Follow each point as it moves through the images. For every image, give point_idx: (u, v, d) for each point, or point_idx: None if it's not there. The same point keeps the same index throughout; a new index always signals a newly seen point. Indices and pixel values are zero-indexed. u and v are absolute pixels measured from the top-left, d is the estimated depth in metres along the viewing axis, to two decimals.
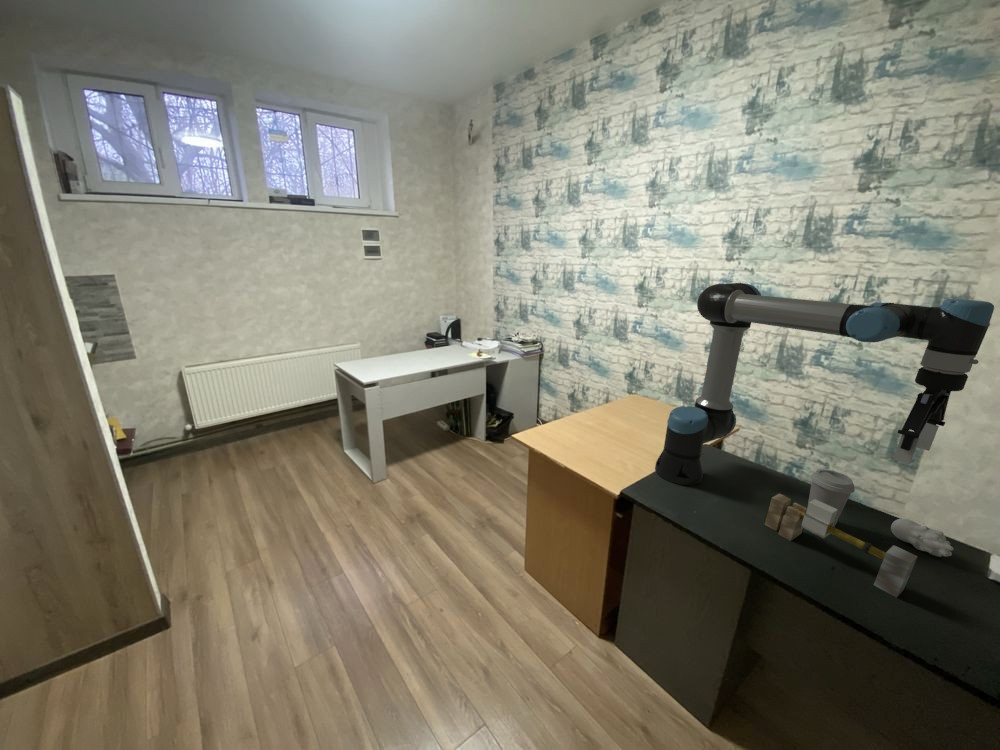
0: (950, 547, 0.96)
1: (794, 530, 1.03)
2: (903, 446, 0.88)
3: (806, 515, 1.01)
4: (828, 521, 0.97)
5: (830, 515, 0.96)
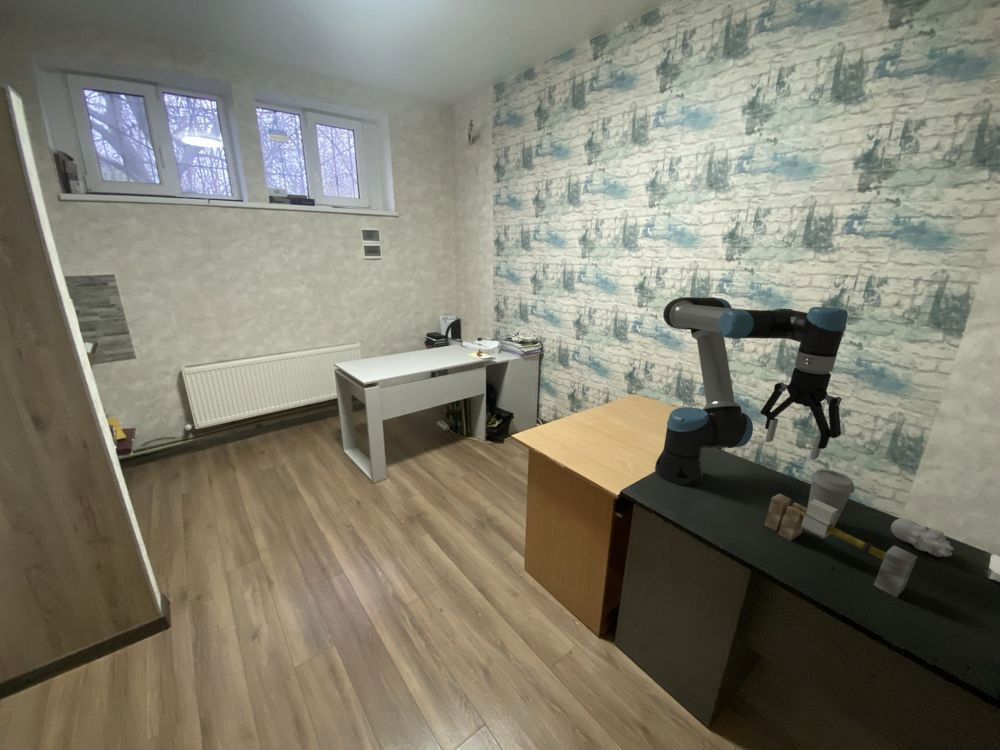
0: (950, 547, 0.96)
1: (794, 530, 1.03)
2: None
3: (806, 515, 1.01)
4: (828, 521, 0.97)
5: (830, 515, 0.96)
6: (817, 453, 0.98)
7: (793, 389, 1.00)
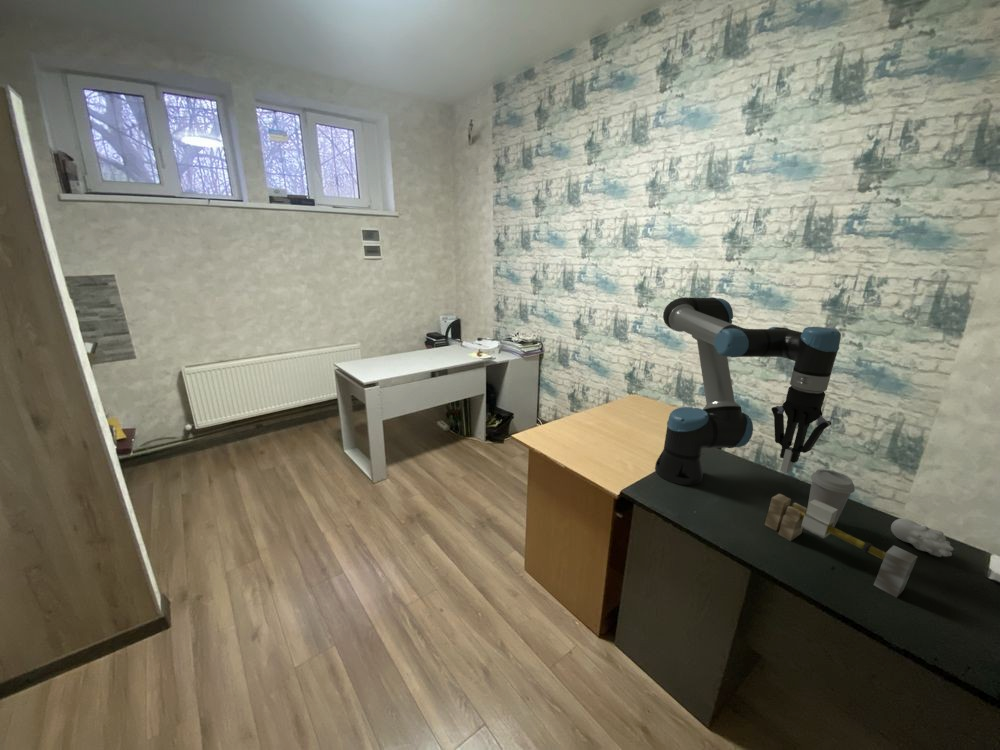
0: (950, 547, 0.96)
1: (794, 530, 1.03)
2: None
3: (806, 515, 1.01)
4: (828, 521, 0.97)
5: (830, 515, 0.96)
6: (789, 466, 1.04)
7: (788, 406, 1.02)
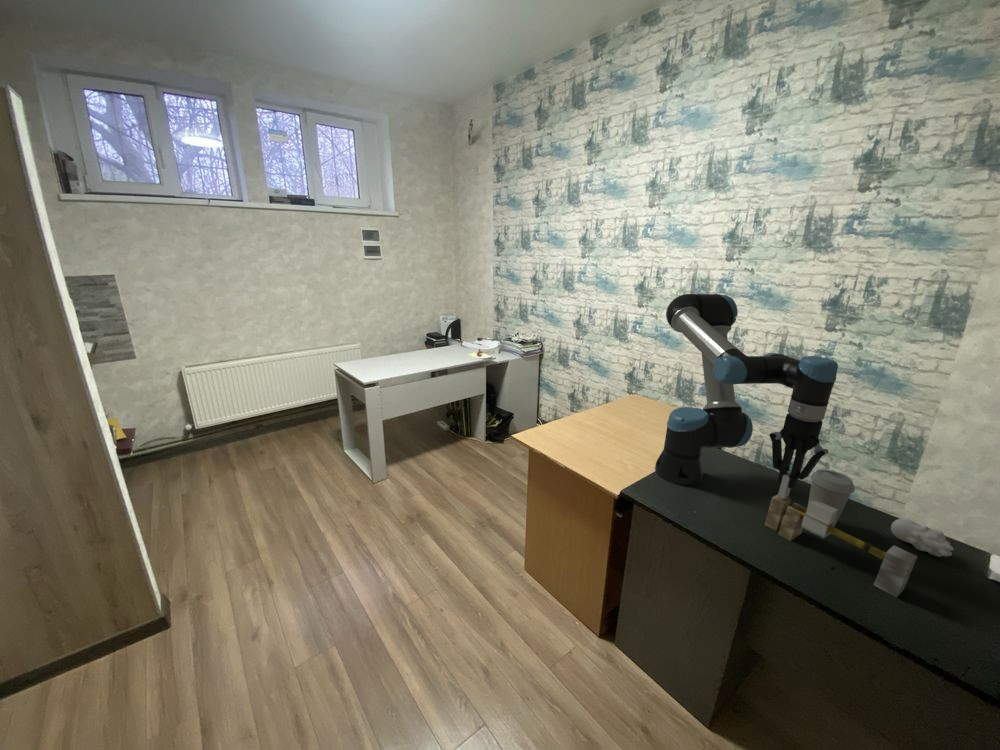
0: (950, 547, 0.96)
1: (794, 530, 1.03)
2: None
3: (806, 515, 1.01)
4: (828, 521, 0.97)
5: (830, 515, 0.96)
6: (787, 492, 1.06)
7: (786, 433, 1.03)
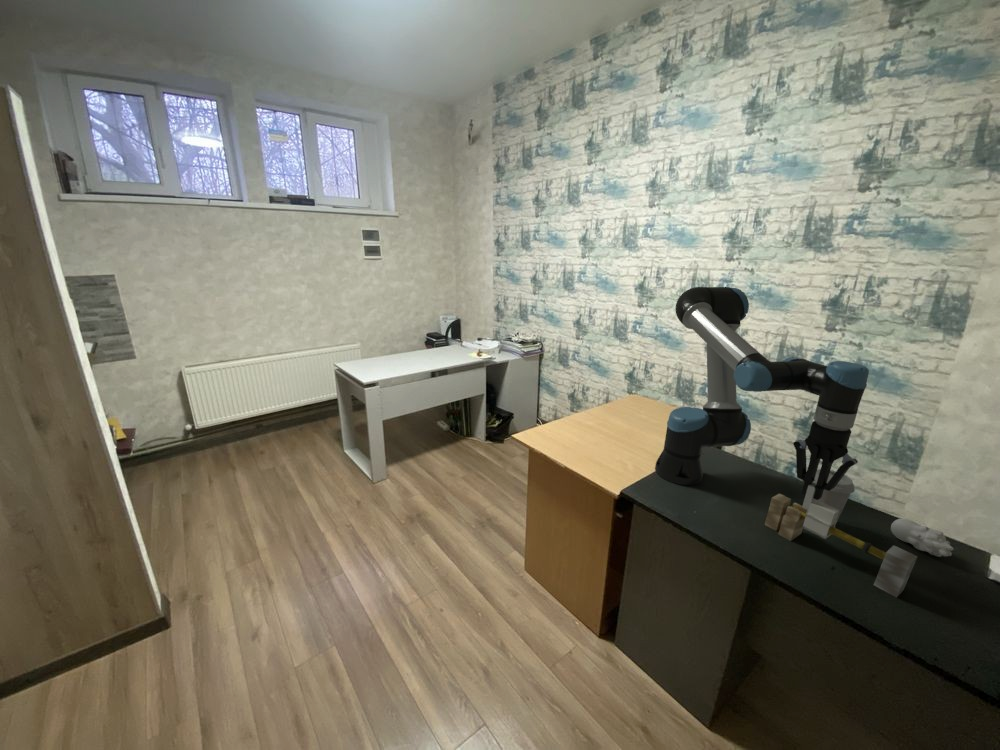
0: (950, 547, 0.96)
1: (794, 530, 1.03)
2: None
3: (808, 516, 1.00)
4: (830, 522, 0.97)
5: (832, 516, 0.96)
6: None
7: (812, 441, 0.98)
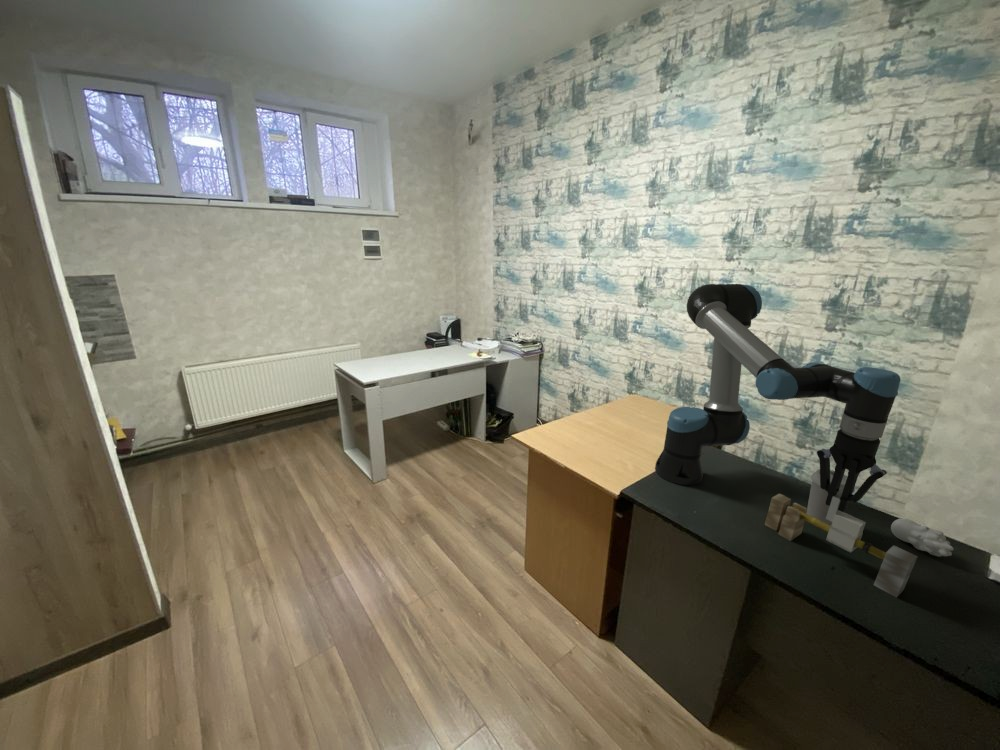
0: (950, 547, 0.96)
1: (794, 530, 1.03)
2: None
3: (832, 528, 0.96)
4: (856, 534, 0.92)
5: (858, 528, 0.92)
6: None
7: (837, 451, 0.94)
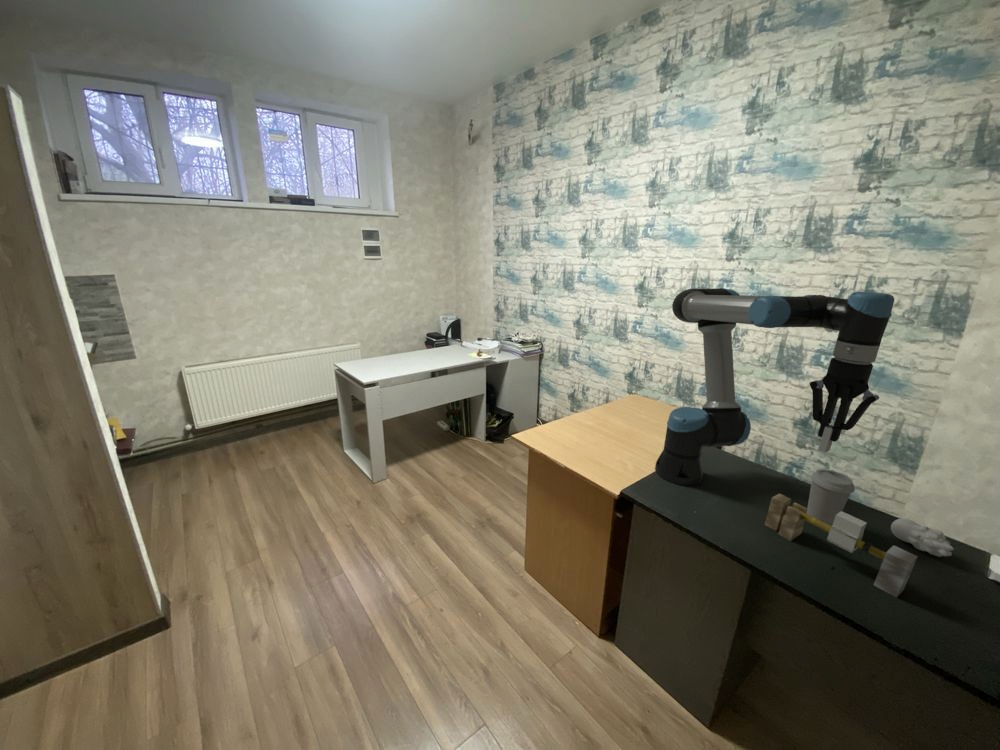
0: (950, 547, 0.96)
1: (794, 530, 1.03)
2: None
3: (833, 528, 0.96)
4: (857, 535, 0.92)
5: (859, 529, 0.92)
6: (828, 446, 0.96)
7: (830, 380, 0.93)
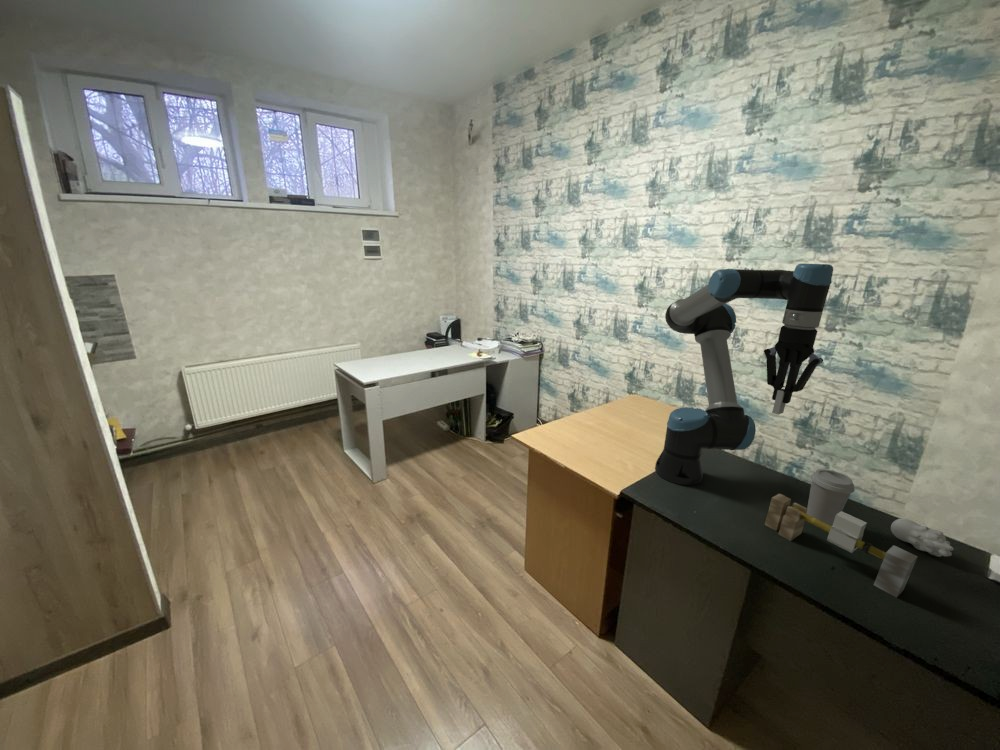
0: (950, 547, 0.96)
1: (794, 530, 1.03)
2: None
3: (833, 528, 0.96)
4: (857, 535, 0.92)
5: (859, 529, 0.92)
6: (781, 408, 1.04)
7: (781, 346, 1.01)
